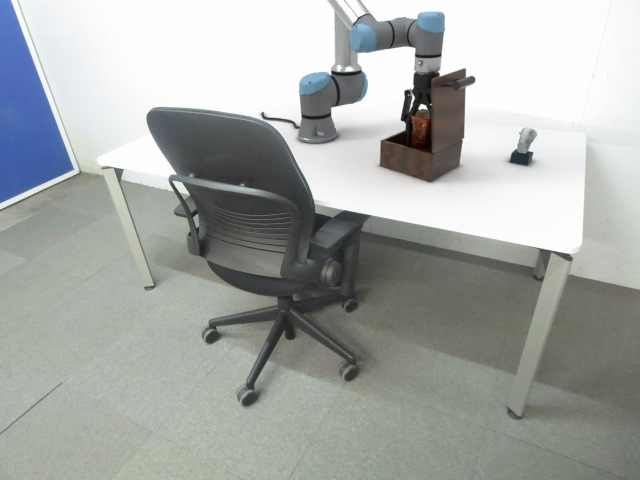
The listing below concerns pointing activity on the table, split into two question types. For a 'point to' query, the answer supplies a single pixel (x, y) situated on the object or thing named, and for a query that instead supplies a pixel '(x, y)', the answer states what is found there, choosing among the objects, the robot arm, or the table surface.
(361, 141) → the table surface
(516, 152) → the white bust statue
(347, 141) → the table surface
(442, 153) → the chest
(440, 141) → the lid
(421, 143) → the mug
